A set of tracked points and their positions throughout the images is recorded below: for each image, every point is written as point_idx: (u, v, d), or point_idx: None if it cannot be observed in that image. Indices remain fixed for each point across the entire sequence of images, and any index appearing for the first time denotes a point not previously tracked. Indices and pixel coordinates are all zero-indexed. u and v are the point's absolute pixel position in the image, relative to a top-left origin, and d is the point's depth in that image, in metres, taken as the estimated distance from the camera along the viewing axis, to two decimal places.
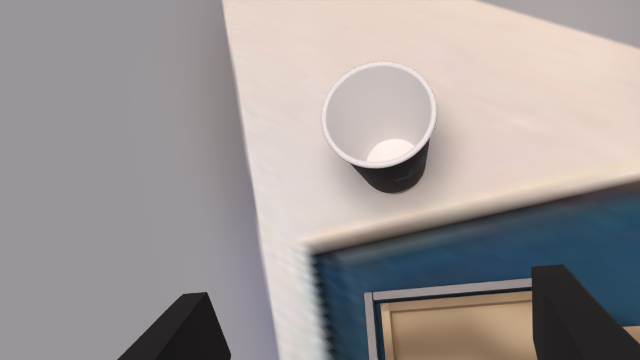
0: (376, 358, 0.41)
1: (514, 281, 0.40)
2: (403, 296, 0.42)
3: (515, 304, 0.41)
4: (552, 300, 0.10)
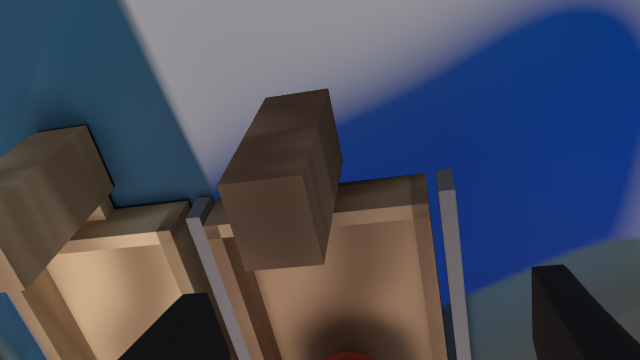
0: None
1: (19, 310, 0.26)
2: None
3: (61, 292, 0.26)
4: (552, 300, 0.10)
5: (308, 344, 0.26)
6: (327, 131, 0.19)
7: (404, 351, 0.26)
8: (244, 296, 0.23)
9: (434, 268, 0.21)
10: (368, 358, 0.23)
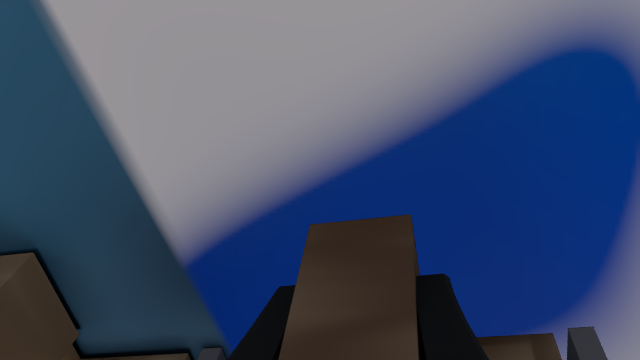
0: None
1: None
2: None
3: None
4: (419, 309, 0.10)
5: None
6: None
7: None
8: None
9: None
10: None
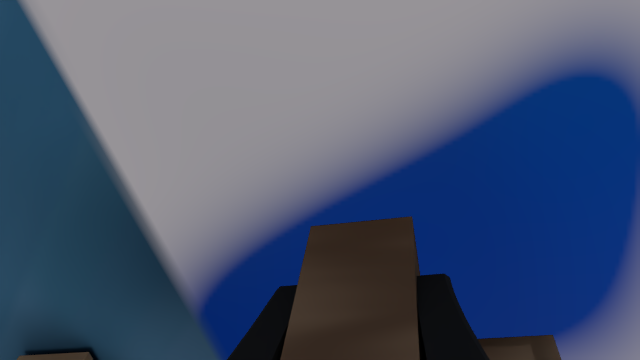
0: None
1: None
2: None
3: None
4: (419, 309, 0.10)
5: None
6: None
7: None
8: None
9: None
10: None
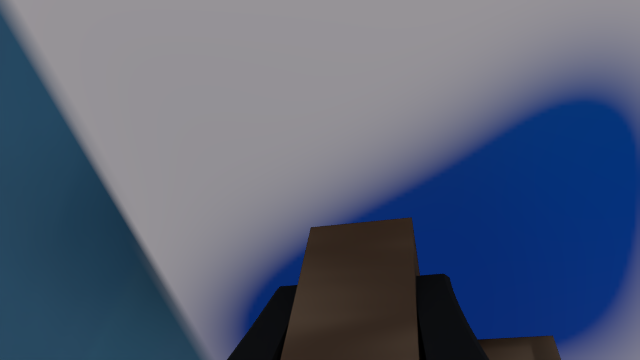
0: None
1: None
2: None
3: None
4: (419, 309, 0.10)
5: None
6: None
7: None
8: None
9: None
10: None
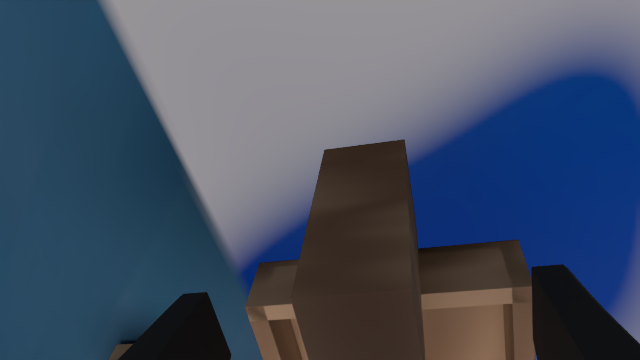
0: None
1: None
2: None
3: None
4: (552, 300, 0.10)
5: None
6: None
7: None
8: None
9: (532, 359, 0.17)
10: None
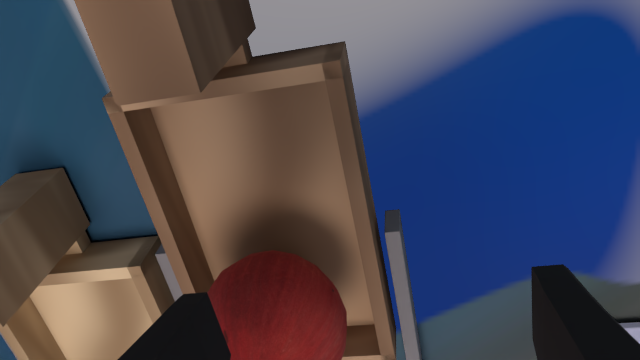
0: None
1: None
2: None
3: (43, 317, 0.28)
4: (552, 300, 0.10)
5: (235, 251, 0.24)
6: None
7: (337, 256, 0.24)
8: (155, 184, 0.21)
9: (352, 141, 0.19)
10: (291, 254, 0.22)
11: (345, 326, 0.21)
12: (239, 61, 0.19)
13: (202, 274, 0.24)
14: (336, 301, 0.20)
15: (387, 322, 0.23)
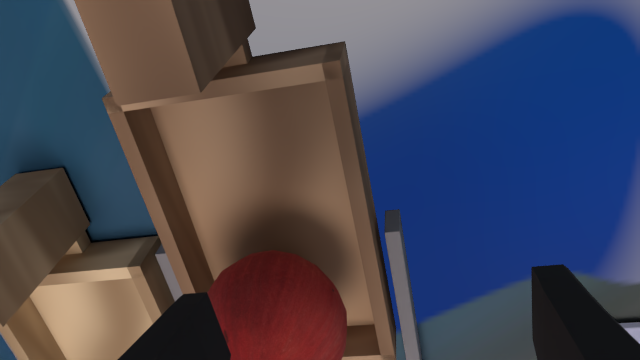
0: None
1: None
2: None
3: (43, 317, 0.28)
4: (552, 300, 0.10)
5: (235, 251, 0.24)
6: None
7: (337, 256, 0.24)
8: (155, 184, 0.21)
9: (352, 141, 0.19)
10: (291, 254, 0.22)
11: (345, 326, 0.21)
12: (239, 61, 0.19)
13: (202, 274, 0.24)
14: (335, 300, 0.20)
15: (387, 322, 0.23)
